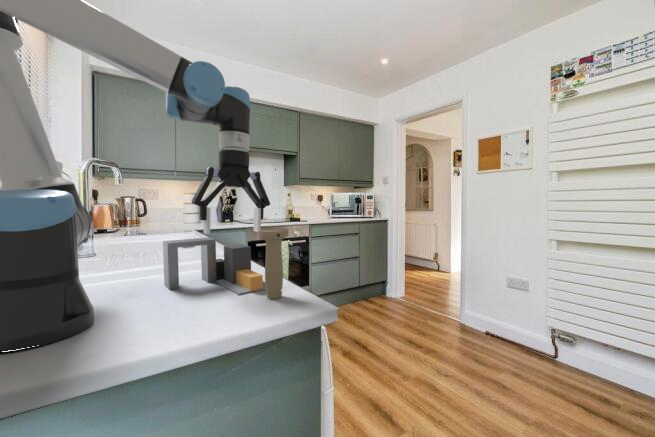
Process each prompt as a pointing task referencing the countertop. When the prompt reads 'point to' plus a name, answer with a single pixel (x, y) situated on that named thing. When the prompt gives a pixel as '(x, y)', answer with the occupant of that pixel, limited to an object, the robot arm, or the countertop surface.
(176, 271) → the housing
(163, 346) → the countertop surface
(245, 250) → the grey and tan block
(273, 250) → the handle
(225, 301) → the countertop surface
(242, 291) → the mat
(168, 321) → the countertop surface
